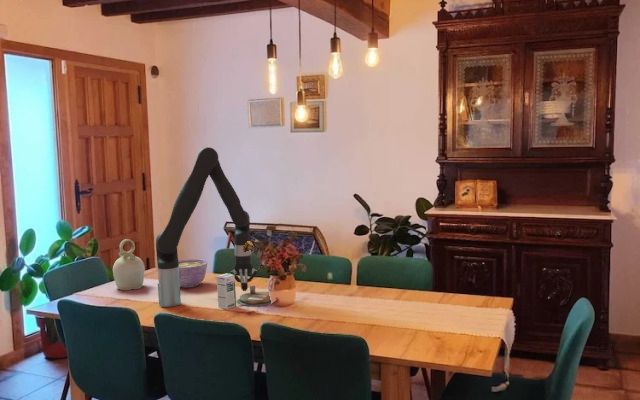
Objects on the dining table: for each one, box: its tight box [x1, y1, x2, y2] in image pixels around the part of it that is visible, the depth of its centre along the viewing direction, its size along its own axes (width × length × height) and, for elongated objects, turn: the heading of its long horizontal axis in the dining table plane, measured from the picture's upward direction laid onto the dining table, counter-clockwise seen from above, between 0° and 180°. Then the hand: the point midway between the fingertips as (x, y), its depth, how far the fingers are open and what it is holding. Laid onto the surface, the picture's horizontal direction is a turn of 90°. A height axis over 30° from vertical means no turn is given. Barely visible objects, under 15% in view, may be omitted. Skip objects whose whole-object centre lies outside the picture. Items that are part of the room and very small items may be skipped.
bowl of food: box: [178, 258, 208, 288], centre depth 306 cm, size 20×20×12 cm
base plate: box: [237, 298, 272, 307], centre depth 274 cm, size 19×18×1 cm
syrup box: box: [216, 273, 237, 310], centre depth 266 cm, size 6×6×14 cm
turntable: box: [239, 284, 271, 304], centre depth 274 cm, size 16×16×5 cm
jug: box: [112, 238, 146, 291], centre depth 305 cm, size 15×16×25 cm
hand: (244, 290), depth 280 cm, fingers closed
